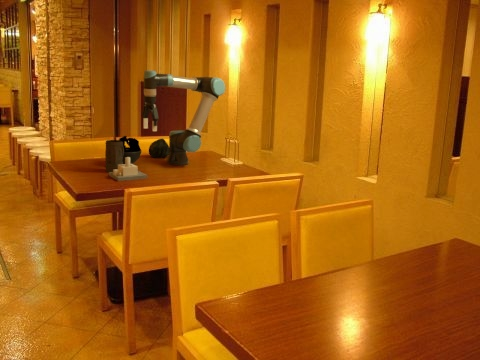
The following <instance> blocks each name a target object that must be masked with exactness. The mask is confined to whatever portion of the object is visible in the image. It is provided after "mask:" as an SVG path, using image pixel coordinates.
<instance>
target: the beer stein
mask: <svg viewBox="0 0 480 360" xmlns="http://www.w3.org/2000/svg"><path fill="white" fill-rule="evenodd" d="M104 153H105V155H104V156H105V172H106V173H107V174H109V172H113V170H114V169H118V165H122V164H123V161H122V159H123V154H124V148H123V142H122V141H120V140H119V139H109V140H108V139H107V140H105V152H104Z"/></svg>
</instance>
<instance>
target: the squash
mask: <svg viewBox="0 0 480 360" xmlns="http://www.w3.org/2000/svg"><path fill="white" fill-rule="evenodd" d="M148 154H149V155H150V156H149V157H152V158H154V159H155V158H162V159H165V158H167V157H168V155H169V143H168V142H167V141H166V140H165V139H164V138H159V139H157V140H154V141H153V142H151V144H150V145H149V146H148Z"/></svg>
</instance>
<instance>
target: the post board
mask: <svg viewBox="0 0 480 360" xmlns="http://www.w3.org/2000/svg"><path fill="white" fill-rule="evenodd" d="M129 166H130V157H125V167H129ZM108 176H109V177H111V178H112V179H114V180H115V181H117V182H123V181H124V182H126V181H133V180H134V181H135V180H142V179H143V180H145V179H147V178H148V174H146V173H144V172H141V171H140V170H138V175H128V176H123V175H121V172H119V175H113V172H109V173H108ZM125 180H126V181H125Z"/></svg>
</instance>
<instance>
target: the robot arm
mask: <svg viewBox="0 0 480 360" xmlns="http://www.w3.org/2000/svg"><path fill="white" fill-rule="evenodd" d="M157 87H169V88H176V89H177V88H178V89H186V90H191V91H192V92H197V93H201V95H202V97H201V99H200V101H199V104H198V105H197V108H196V110H195V112H194V114H193V118H192V119H191V121H190V123H189V126H188V128H185V129H184V130H182V129H181V130H180V129H179V130H171V131H170V132H169V135H168V137H169V138H168V139H169V141H168V142H169V143H168V146H169V155H168V156H167V157H166V164H167V165H171V166H183V165H184V166H185V165H188V164H189V157H188V155H187V153H196V152H197V151H199V150H200V148H201V146H202V139H201V138H202V134H201V132H202V130H203V128H204V125H205V124H206V121H207V118H208V116H209V114H210V112H211V109H212V107H213V105H214V102H215V101H218V99H219V96H220V97H221V96H223V94H225V91H226V85H225V82H224V80H223V79H222V78H219V77H216V76H215V77H211V76H200V77H199V76H198V77H197V76H192V77H187V76H186V77H185V76H179V75H178V76H177V75H173V74H171V73H157V71H156V70H148V69H147V70H144V71H143V95H144V96H143V107H142V113H141V117H142V119H143V120H142V121H143V125H142V126H143V127H142V129H149V124H148V123H149V117H148V116H149V114H151V118H152V120H151V121H152V125H151V129H152V132H158V121H159V120H160V119H159V113H158V107H157V106H158V105H157V104H155V103H156V102H157Z"/></svg>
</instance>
